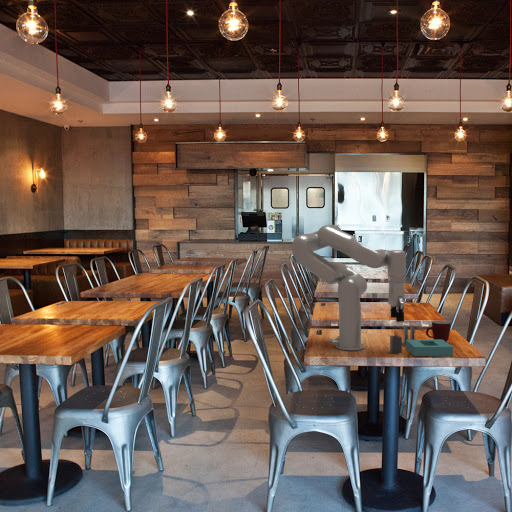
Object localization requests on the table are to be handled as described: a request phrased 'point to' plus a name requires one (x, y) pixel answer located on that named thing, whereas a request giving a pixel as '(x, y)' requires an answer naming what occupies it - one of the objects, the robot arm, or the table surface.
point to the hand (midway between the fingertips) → (397, 319)
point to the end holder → (429, 347)
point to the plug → (395, 343)
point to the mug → (440, 330)
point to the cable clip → (412, 330)
